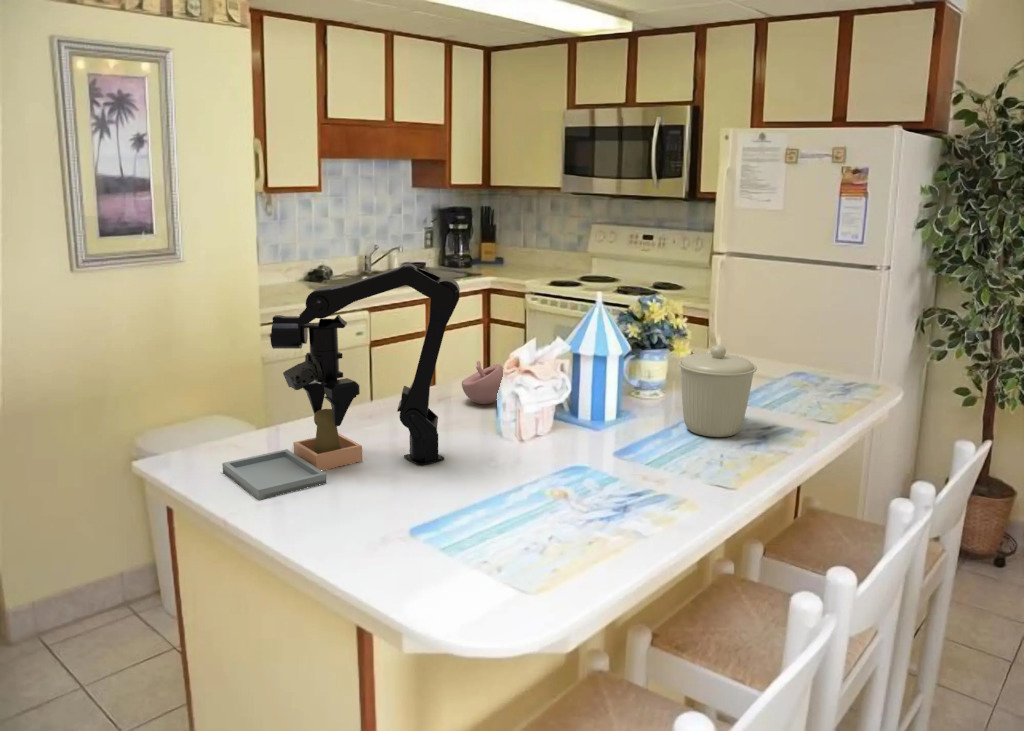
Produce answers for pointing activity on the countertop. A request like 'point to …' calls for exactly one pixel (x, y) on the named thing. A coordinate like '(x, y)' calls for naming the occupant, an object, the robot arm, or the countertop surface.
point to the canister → (715, 391)
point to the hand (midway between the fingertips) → (327, 420)
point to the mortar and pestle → (483, 384)
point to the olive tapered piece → (326, 432)
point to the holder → (329, 453)
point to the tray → (273, 473)
